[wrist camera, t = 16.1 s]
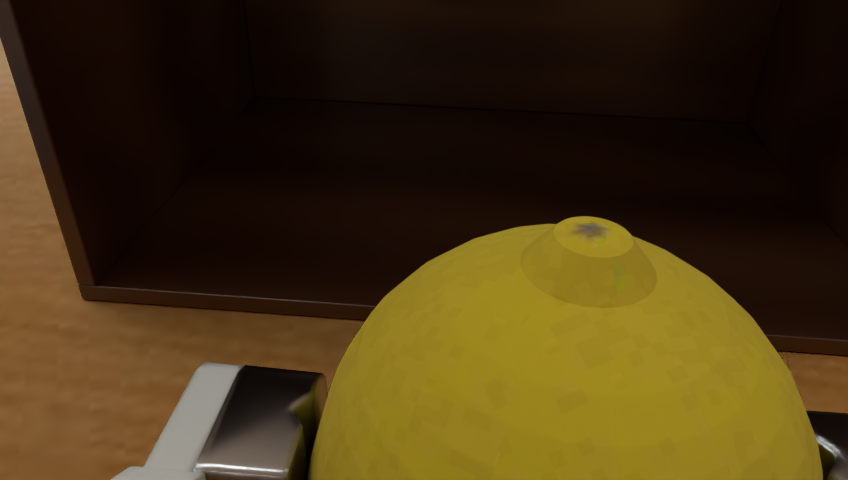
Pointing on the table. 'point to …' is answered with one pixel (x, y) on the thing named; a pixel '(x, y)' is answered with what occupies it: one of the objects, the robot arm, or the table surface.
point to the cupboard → (437, 142)
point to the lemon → (562, 371)
